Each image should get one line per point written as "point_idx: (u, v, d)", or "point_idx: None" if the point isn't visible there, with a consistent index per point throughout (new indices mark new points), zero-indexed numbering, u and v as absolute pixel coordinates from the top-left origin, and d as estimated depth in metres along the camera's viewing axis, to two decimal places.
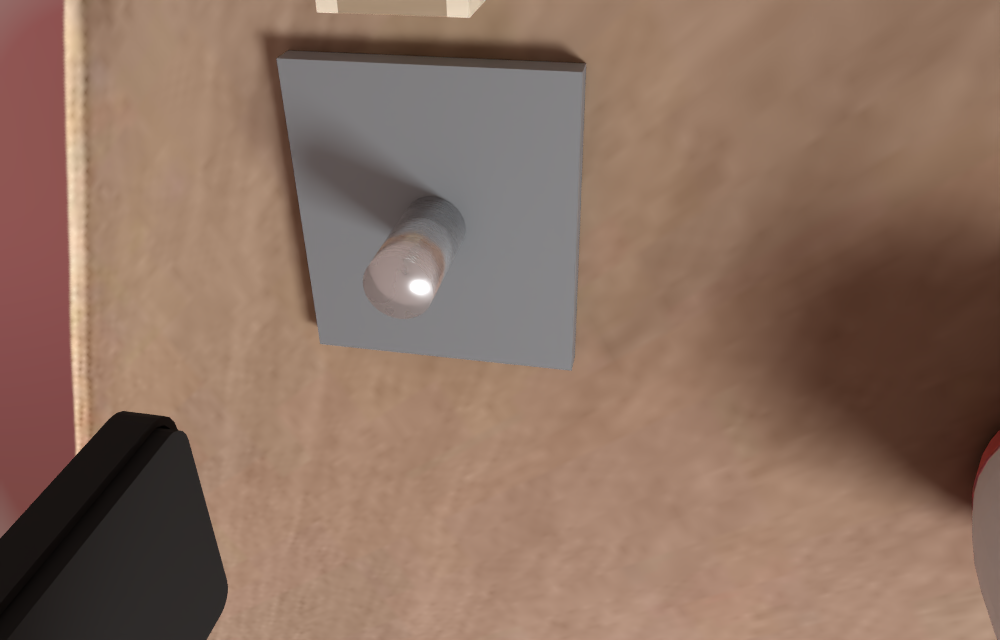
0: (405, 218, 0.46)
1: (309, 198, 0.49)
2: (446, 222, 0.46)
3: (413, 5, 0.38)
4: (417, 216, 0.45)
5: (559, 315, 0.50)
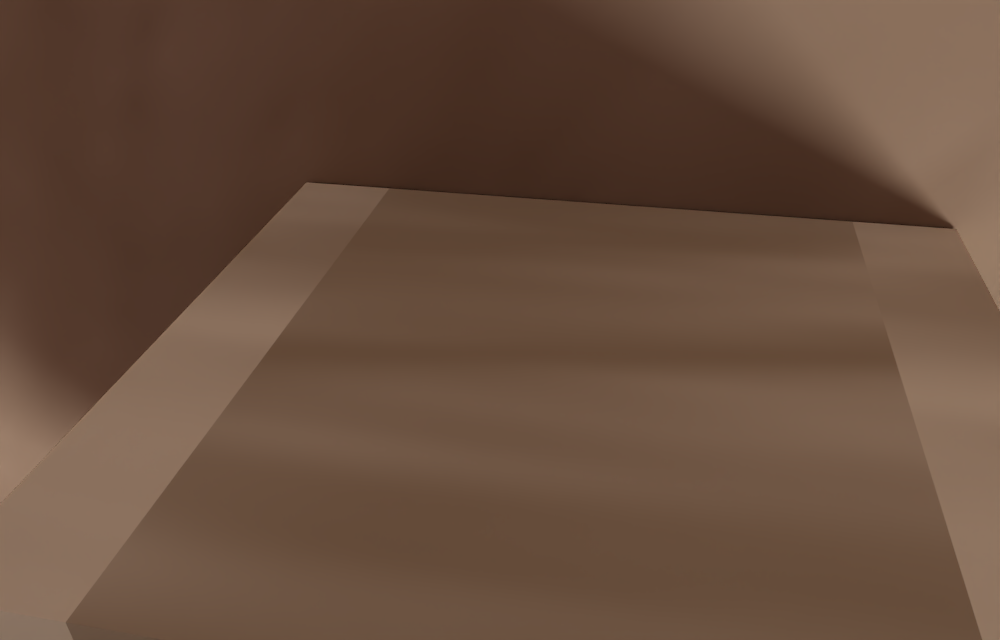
0: None
1: None
2: None
3: None
4: None
5: None
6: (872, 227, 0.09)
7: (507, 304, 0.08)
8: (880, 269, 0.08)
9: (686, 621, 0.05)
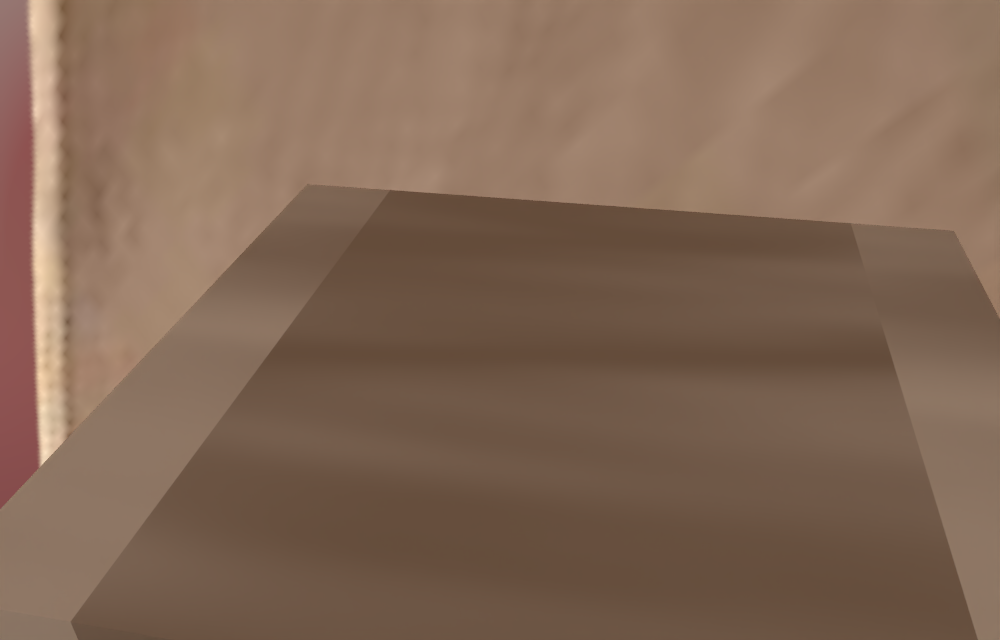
0: None
1: None
2: None
3: None
4: None
5: None
6: (871, 230, 0.09)
7: (508, 306, 0.08)
8: (876, 271, 0.08)
9: (684, 621, 0.05)
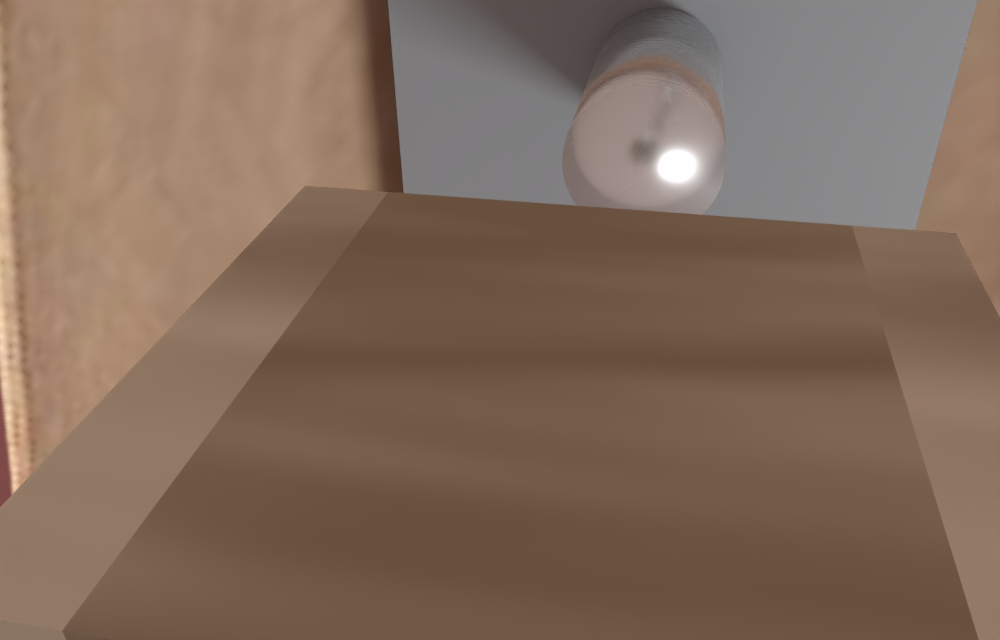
0: (626, 37, 0.22)
1: (412, 23, 0.26)
2: (708, 48, 0.22)
3: None
4: (654, 31, 0.22)
5: None
6: (872, 231, 0.09)
7: (506, 309, 0.08)
8: (878, 274, 0.08)
9: (685, 628, 0.05)
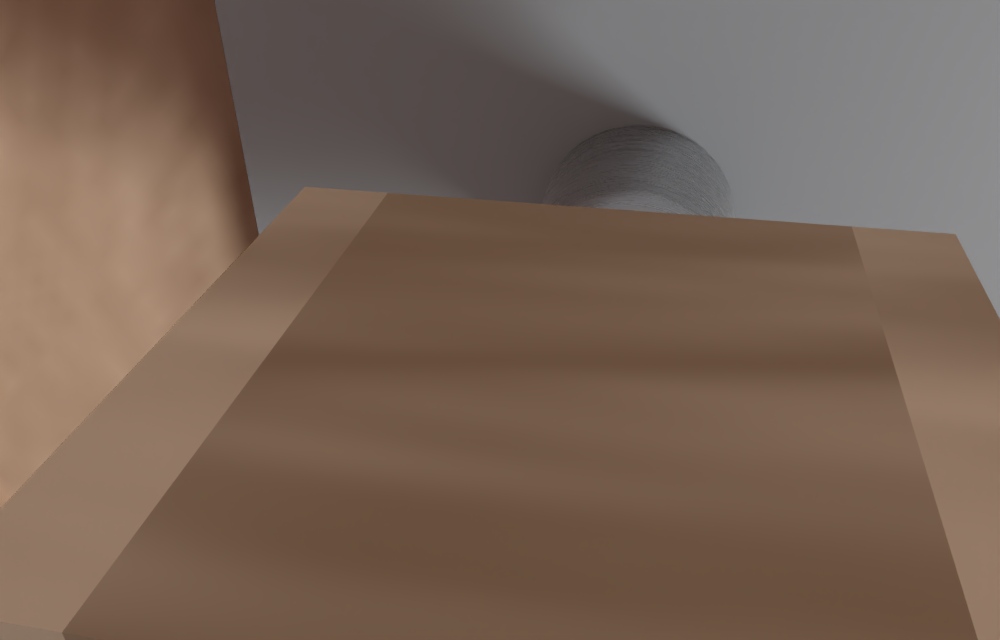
0: (581, 191, 0.14)
1: (272, 138, 0.17)
2: (713, 204, 0.14)
3: None
4: (626, 184, 0.13)
5: None
6: (872, 232, 0.09)
7: (506, 310, 0.08)
8: (878, 274, 0.08)
9: (685, 628, 0.05)
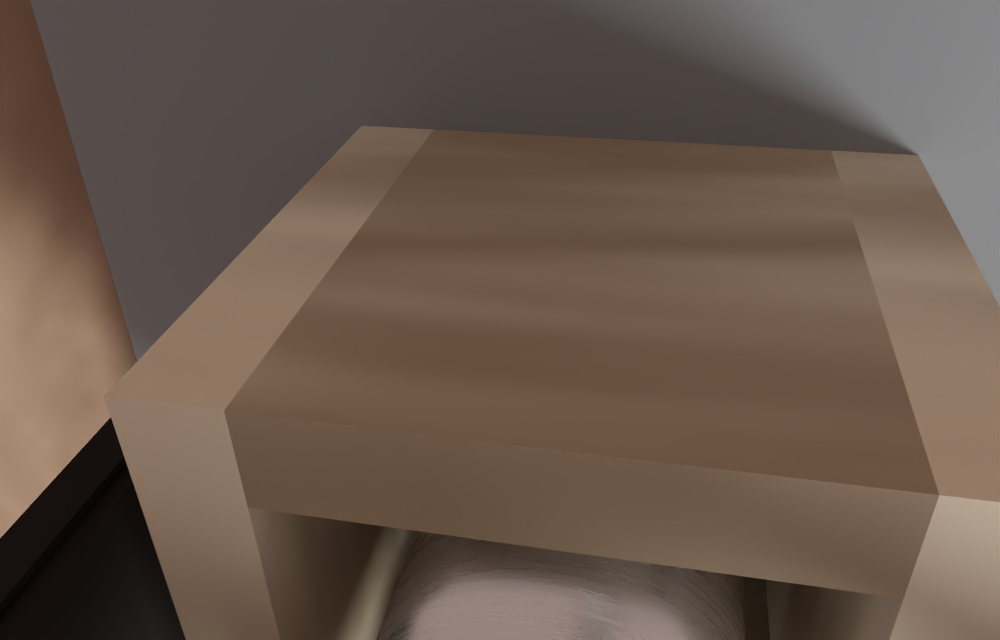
0: None
1: (146, 261, 0.14)
2: None
3: None
4: None
5: None
6: (848, 154, 0.10)
7: (542, 210, 0.09)
8: (851, 184, 0.10)
9: (693, 405, 0.06)
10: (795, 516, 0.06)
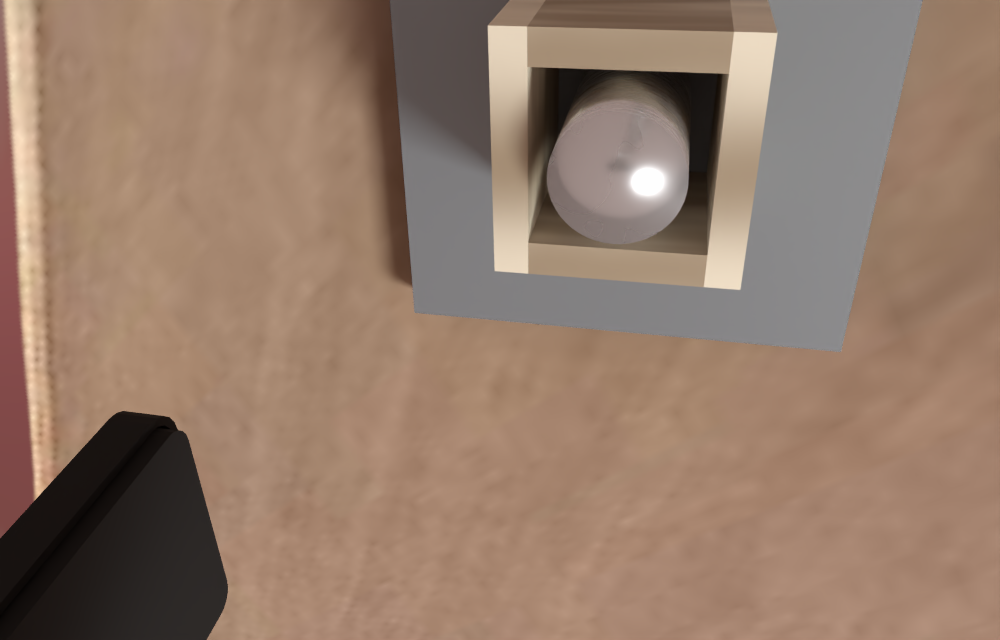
0: None
1: (414, 54, 0.29)
2: (676, 77, 0.25)
3: (651, 269, 0.24)
4: None
5: (837, 256, 0.29)
6: None
7: None
8: None
9: (668, 23, 0.21)
10: (696, 45, 0.21)
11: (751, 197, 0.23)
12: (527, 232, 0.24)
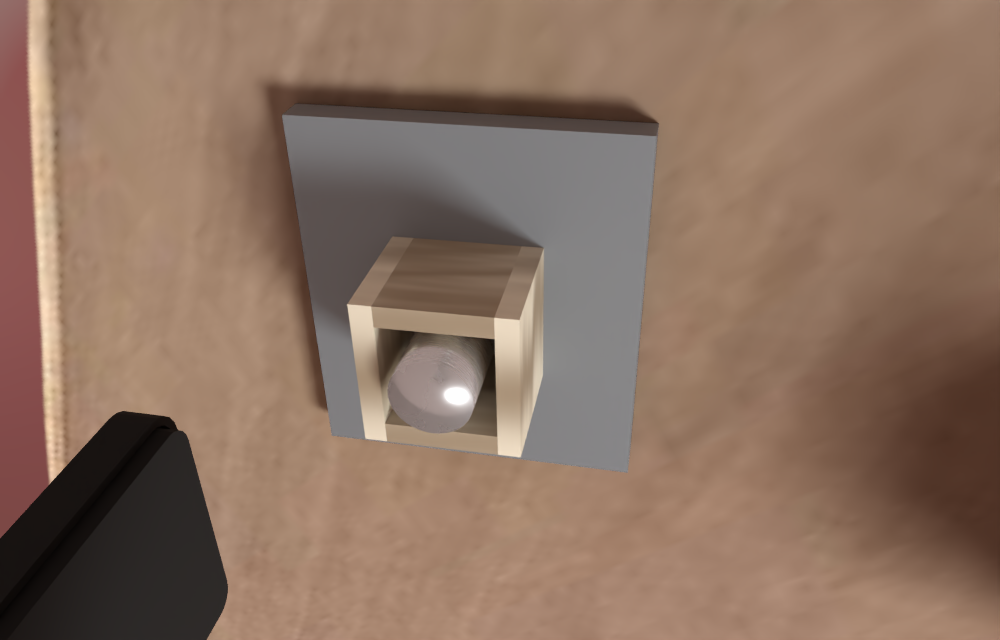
0: None
1: (320, 275, 0.41)
2: None
3: (464, 443, 0.37)
4: None
5: (615, 412, 0.42)
6: (525, 247, 0.38)
7: (439, 264, 0.37)
8: (520, 256, 0.38)
9: (458, 305, 0.34)
10: (473, 323, 0.34)
11: (518, 406, 0.36)
12: (383, 417, 0.37)
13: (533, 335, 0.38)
